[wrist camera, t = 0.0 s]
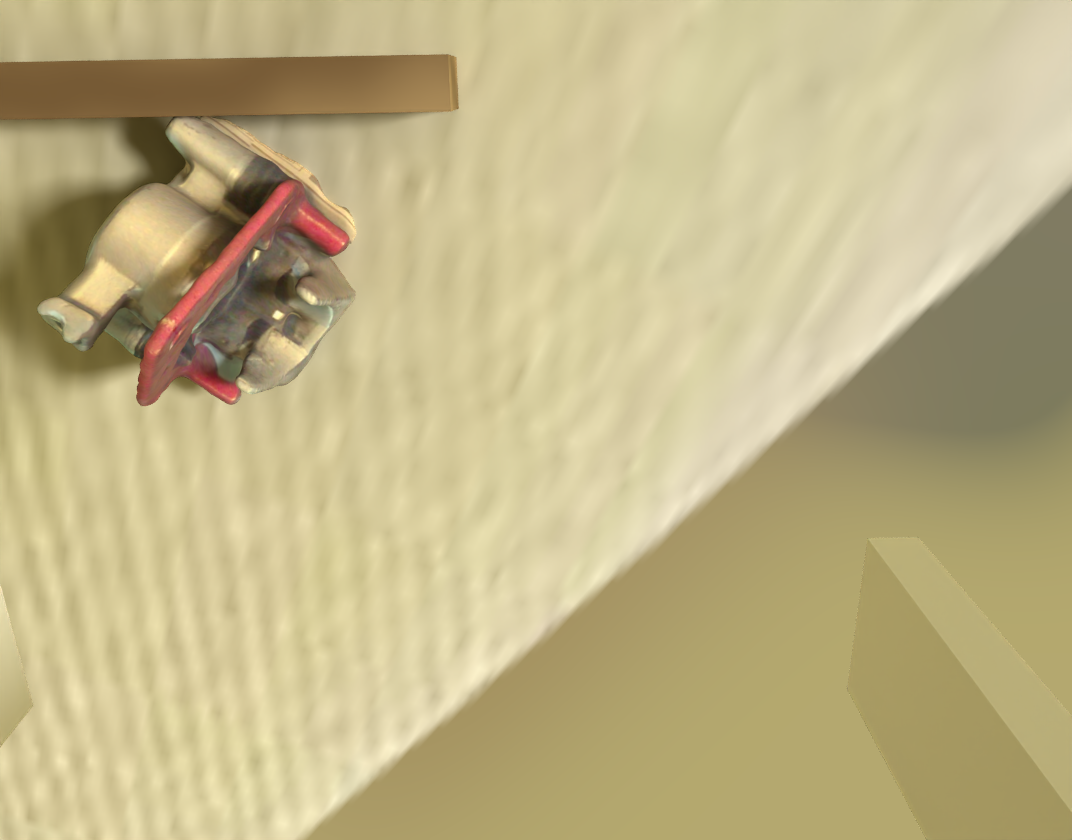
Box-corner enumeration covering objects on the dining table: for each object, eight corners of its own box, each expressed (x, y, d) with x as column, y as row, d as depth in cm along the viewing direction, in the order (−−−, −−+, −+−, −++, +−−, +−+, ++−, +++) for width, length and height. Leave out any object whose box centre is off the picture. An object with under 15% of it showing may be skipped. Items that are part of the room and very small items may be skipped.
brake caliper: (299, 469, 40) (49, 465, 30) (184, 319, 45) (-69, 270, 34) (442, 275, 37) (220, 194, 27) (305, 135, 42) (66, 17, 31)
